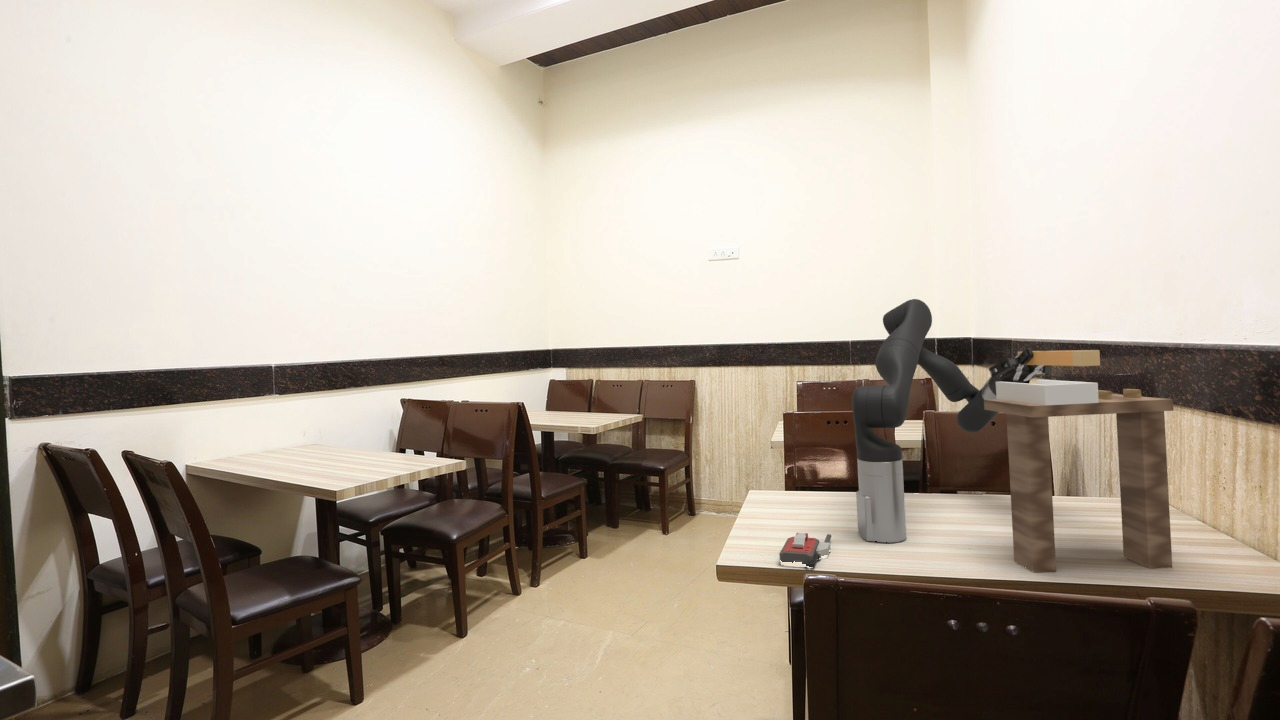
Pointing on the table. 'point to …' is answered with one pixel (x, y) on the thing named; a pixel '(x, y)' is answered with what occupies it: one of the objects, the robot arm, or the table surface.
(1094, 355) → the tan wooden bar
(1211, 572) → the table surface
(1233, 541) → the table surface
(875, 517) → the robot arm
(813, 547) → the walkie-talkie
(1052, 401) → the tray
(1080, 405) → the shelf
